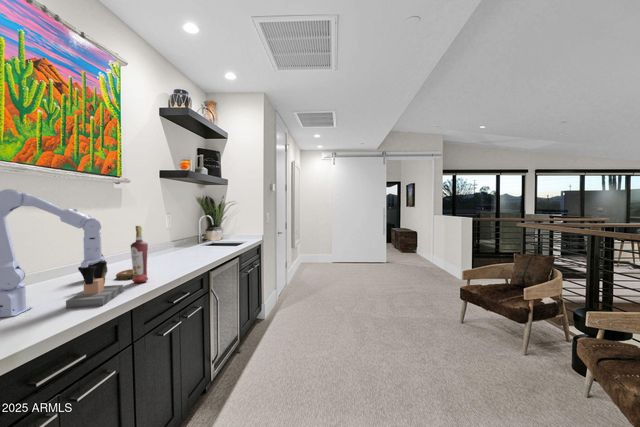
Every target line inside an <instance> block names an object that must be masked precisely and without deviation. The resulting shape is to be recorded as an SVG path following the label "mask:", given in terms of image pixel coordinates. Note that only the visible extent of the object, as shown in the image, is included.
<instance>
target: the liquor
mask: <svg viewBox="0 0 640 427" xmlns="http://www.w3.org/2000/svg"><path fill="white" fill-rule="evenodd" d="M142 229H143V225H135V232H136V233H135V241H134V242H132V243H131V244H130V254H131V255H130V256H131V264H132V269H133V279H132V282H133V283H134V284H143V283H146V282H148V280H149V277H148V257H149V256H148V255H149V253H148V252H149V251H148V248H149V245H148V243H147V242H145V241H143V235H142V234H143V233H142V231H143V230H142Z"/></svg>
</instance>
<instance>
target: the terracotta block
mask: <svg viewBox="0 0 640 427" xmlns="http://www.w3.org/2000/svg"><path fill="white" fill-rule="evenodd" d="M104 286H105V284H104V278H97V279H93V284H88V285H86V284H85V281H84V280H83V291H84V294H97V293H100V292H102V291H103V290H104Z"/></svg>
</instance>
